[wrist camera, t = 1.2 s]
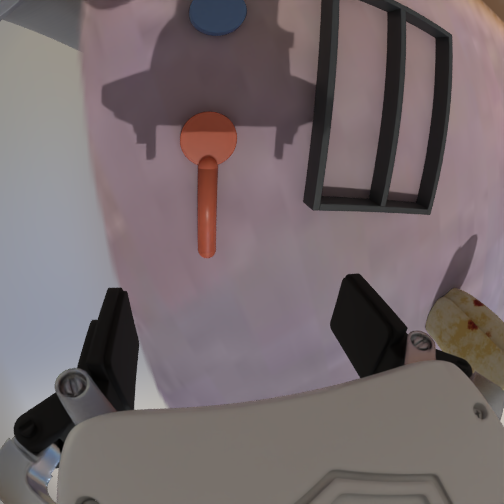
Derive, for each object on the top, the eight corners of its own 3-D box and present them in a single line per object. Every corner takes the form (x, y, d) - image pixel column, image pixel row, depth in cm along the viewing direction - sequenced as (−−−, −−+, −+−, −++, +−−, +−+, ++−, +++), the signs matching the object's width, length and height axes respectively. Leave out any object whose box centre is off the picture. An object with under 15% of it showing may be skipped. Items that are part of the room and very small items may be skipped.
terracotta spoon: (234, 112, 19) (241, 112, 17) (228, 244, 25) (233, 260, 22) (181, 111, 19) (180, 111, 16) (182, 246, 24) (182, 262, 22)
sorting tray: (299, 198, 24) (312, 210, 22) (317, -15, 15) (333, -25, 12) (413, 205, 27) (430, 215, 25) (433, 35, 18) (452, 34, 15)
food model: (429, 330, 41) (494, 410, 23) (412, 323, 38) (484, 415, 21) (462, 284, 37) (538, 358, 20) (448, 273, 35) (536, 355, 17)
